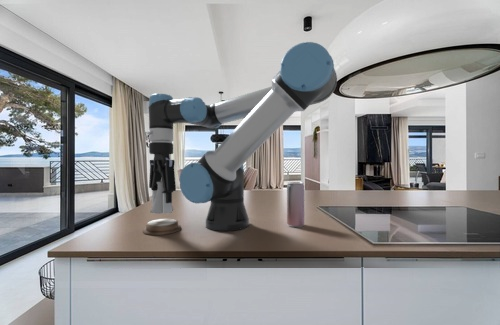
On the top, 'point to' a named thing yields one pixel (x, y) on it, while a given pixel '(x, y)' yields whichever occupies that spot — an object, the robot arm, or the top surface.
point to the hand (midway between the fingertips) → (161, 211)
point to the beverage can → (295, 204)
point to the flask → (158, 200)
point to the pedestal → (161, 227)
